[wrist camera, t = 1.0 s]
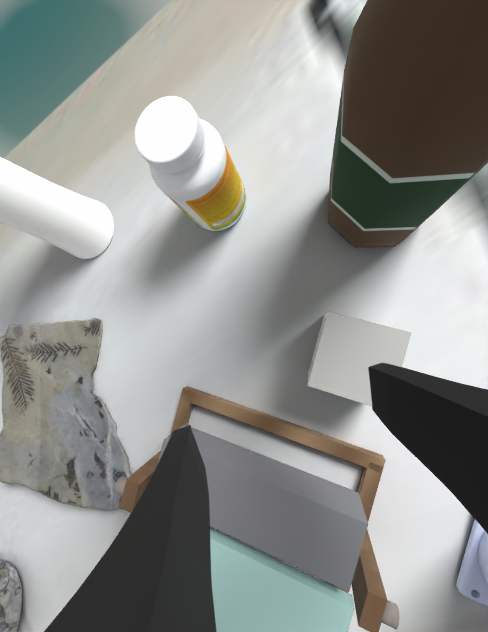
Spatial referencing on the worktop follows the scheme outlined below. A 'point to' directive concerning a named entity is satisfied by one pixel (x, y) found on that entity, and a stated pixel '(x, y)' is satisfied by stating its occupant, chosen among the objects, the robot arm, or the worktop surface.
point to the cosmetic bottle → (53, 212)
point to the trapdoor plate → (278, 542)
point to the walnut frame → (366, 576)
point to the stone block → (353, 355)
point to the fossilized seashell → (9, 597)
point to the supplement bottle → (190, 163)
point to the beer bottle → (408, 116)
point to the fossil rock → (58, 415)
